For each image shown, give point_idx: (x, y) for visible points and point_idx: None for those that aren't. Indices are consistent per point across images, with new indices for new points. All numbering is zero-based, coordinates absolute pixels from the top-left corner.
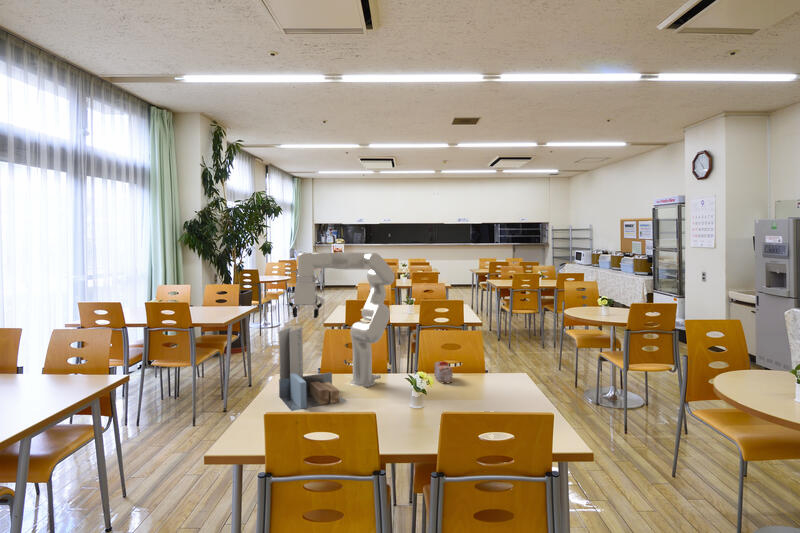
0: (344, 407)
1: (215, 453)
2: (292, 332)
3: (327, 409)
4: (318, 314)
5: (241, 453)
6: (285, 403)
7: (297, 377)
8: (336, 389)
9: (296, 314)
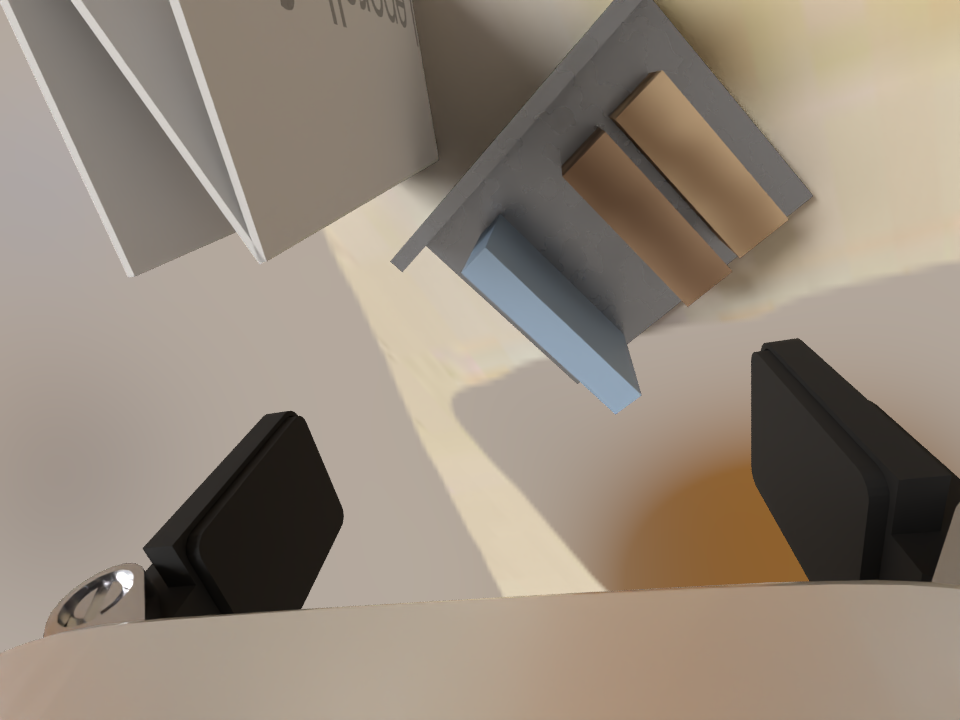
0: (802, 251)
1: None
2: (252, 175)
3: (719, 299)
4: (877, 407)
5: None
6: (502, 312)
7: (547, 330)
8: (767, 214)
9: (297, 476)
